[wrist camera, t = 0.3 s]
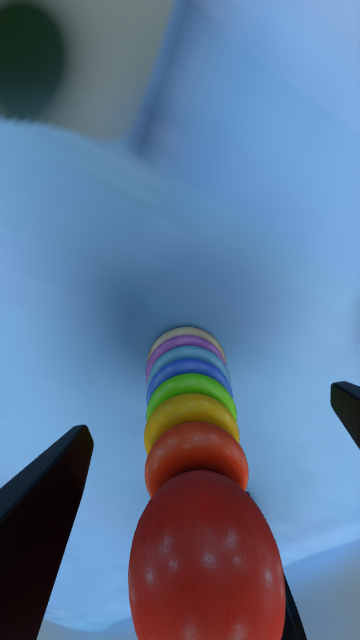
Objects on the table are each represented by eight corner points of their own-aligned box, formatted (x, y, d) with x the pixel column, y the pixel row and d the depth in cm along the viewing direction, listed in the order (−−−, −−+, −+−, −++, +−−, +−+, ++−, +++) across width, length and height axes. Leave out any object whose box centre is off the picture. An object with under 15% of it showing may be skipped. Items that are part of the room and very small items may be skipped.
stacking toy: (217, 396, 24) (318, 783, 6) (146, 388, 24) (42, 765, 6) (229, 329, 22) (433, 622, 4) (152, 320, 22) (20, 588, 4)
